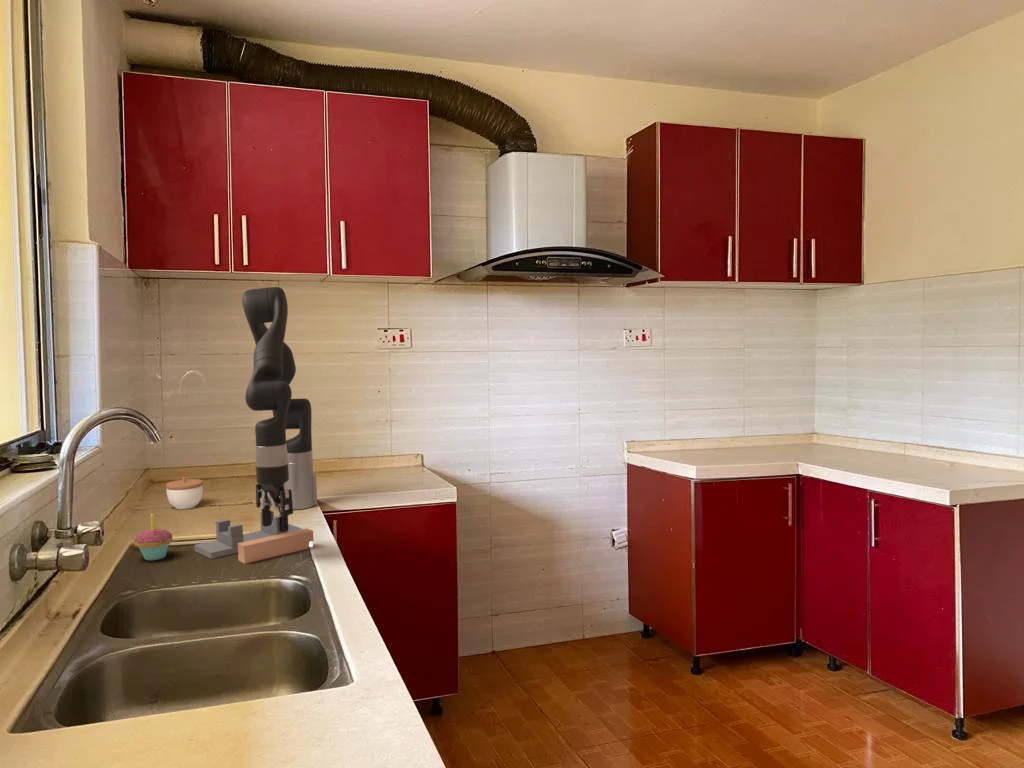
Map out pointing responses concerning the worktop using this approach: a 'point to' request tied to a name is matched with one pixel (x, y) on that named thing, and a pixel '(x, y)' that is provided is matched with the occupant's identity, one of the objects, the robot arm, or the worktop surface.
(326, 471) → the worktop surface
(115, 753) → the worktop surface
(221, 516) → the worktop surface
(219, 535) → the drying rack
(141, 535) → the cupcake
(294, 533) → the clay strip
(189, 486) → the lidded jar
